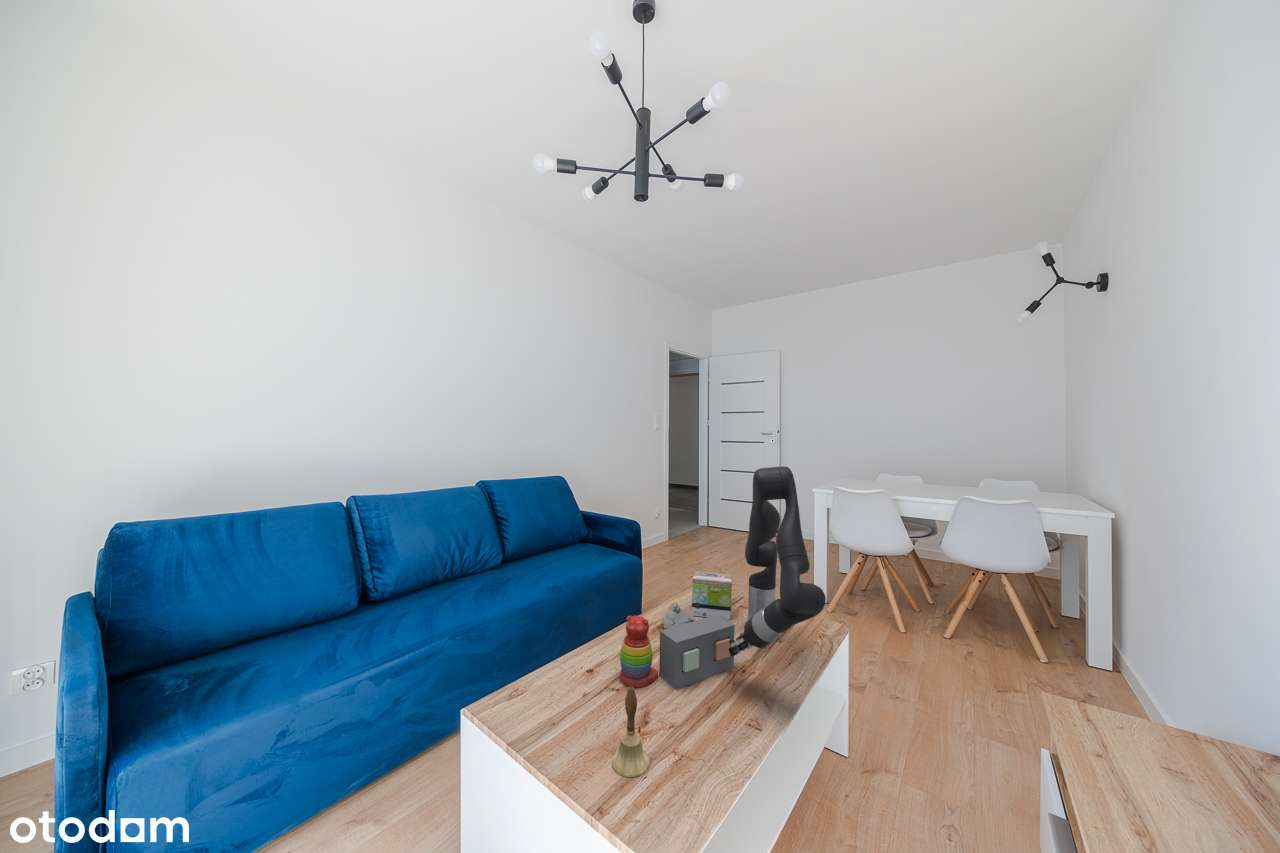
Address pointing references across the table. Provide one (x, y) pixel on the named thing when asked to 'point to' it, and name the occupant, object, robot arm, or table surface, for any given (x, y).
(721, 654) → the salmon button
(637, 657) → the stacking bear
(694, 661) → the sage button
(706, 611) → the tea box
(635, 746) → the hand bell
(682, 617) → the grey clay mound
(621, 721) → the table surface
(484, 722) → the table surface
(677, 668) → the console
